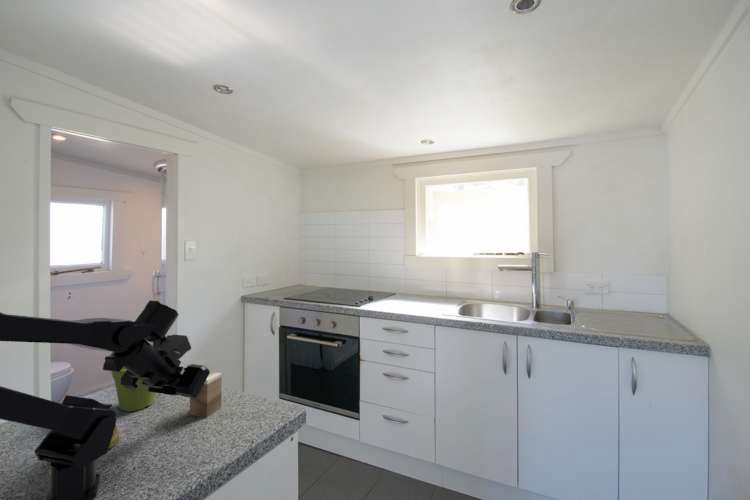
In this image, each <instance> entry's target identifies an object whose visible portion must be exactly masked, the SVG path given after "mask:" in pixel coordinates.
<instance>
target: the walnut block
mask: <svg viewBox="0 0 750 500" xmlns="http://www.w3.org/2000/svg"><path fill="white" fill-rule="evenodd" d="M222 381H223V380H222V372H217V371H216V372H215V371H210V373H209V375H208V377H207V379H206V381H205V383H204V384H203V386H202V388H201V390H200V392H199V394H198V396H196V397H195V398H190V397H189V415H191V416H197V417H202V418H209V417H210V416H212V415H213V414H215V413H216V412H218V411H219V410H221V409H222Z"/></svg>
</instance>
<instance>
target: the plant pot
mask: <svg viewBox="0 0 750 500" xmlns="http://www.w3.org/2000/svg"><path fill="white" fill-rule="evenodd" d="M126 370H127V369H125V368H124V367H123V368H122V369H121V371H120V372H114V371H110V372H111V376H112V379H113V382H114V385H115V391H116V395H117V400H118V404H119V405H118V406H119V409H120V410H121V411H124V412H134V411H140V410H143V409H145V408H146V407H150V406H151V405H153V404H154V402H155V397H156V393H154V392H149V391H148V389H149V387H147V386H144V385H142V382H143V381H142V380H141V379H140V378H139V379H138V380H137V382H136V383H135V384H136V385H138V387H137V388H136V389H130V388H126V387H124V386H123V385H121V377H122V376H123V375H124V373H125V372H126Z"/></svg>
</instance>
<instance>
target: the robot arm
mask: <svg viewBox="0 0 750 500" xmlns="http://www.w3.org/2000/svg"><path fill="white" fill-rule="evenodd" d="M178 317H179V313H178V311H177V310H176V309H174V308H172V307H170V306H168V305H166V304H163V303H161V302H160V301H158V300H152V299H151V300H149V301H147V303H146V305H145V307H144V309H143V310H142V311H141V312H140V314H138V316H137V317H136V318H135V319H136V320H135V321H132V320H130V319H121V318H110V317H109V318H107V317H93V318H82V319H76V320H73V319H72V320H66V319H56V318H49V317H48V318H47V317H37V316H27V315H17V314H15V315H14V314H6V313H3V312H1V311H0V342H10V343H11V342H12V343H13V342H15V343H37V344H38V343H39V344H40V343H42V344H67V345H68V344H69V345H72V346H74V347H79V348H84V349H88V350H95V351H103V352H110V353H111V354H110V355H107V356H105V357H104V363H103V365H102V370H103V371H106V372H111V371H114V372H120V371H121V369H122V368H123V367H124V368H125V369H127V370H126V372H125V373H124V375H123V376H122V377H121V385H123V386H124V387H126V388H130V389H136V388H137V387H138V385H136V384H135V383H136V382H137V380H138V379H139V378H140V379H141V380H142V381H143V382H142V385H144V386H147V387H149V389H148V391H149V392H154V393H155V394H164V395H168V396H181V397H184V398H189V399H190V398H195V397H196V396H198V394H199V392H200V390H201V388H202V386H203V384H204V383H205V381H206V379H207V377H208V375H209V373H210V372H211V371H210V369H209V368H208V367H207V366H206V365H203V364H202V365H201V364H194V363H193V364H188V365H187V366H186V367H184V366H182V365H181V363H182V361H181V360H180V359H181V358H182V357H183V356H185V354H186V353H188V352H189V351H190V350H192V346H191V345H192V344H191V343H190V341H189V338H188V336H187V335H183V334H182V335H181V334H171V335H170V334H167V333H168V332H169V331H170V329H171V327H172V326H173V325H174V324H175V322H176V320H177V319H178ZM166 335H167V336H166ZM151 343H152V344H151ZM180 365H181V366H180ZM112 407H113V404H110V403H104V402H100V401H98V400H95V399H93V398H88V397H83V396H77V395H68V394H66V395H65V396H64V398H63V399H62V403H59V402H56V401H53V400H50V399H47V398H43V397H40V396H36V395H33V394H29V393H26V392H25V393H24V392H22V391H18V390H14V389H13V388H12V389H11V388H9V387H8V388H7V387H4V386H1V385H0V420H2V421H7V422H10V423H16V424H19V425H20V424H21V425H26V426H29V427H35V428H37V429H39V430H41V431H42V432H43V433H44V434H45V435H46V436H45V437H44V438H43V439H42V441H41V442H40V444H39V445H38V446H37V447H36V449H35V450H34V454H35V456H36V458H37V460H38V461H40V462H48V463H49V479H50V480H49V492H48V495H47V498H46V499H45V500H94V499H95V498H96V497H97V495H98V490H99V485H100V481H101V474H100V473H97V471H96V469H97V463H96V462H97V460H98V459H99V458H102V457H103V456H104V455H106V454H108V451H109V449H108V448H109V445H110V442H111V439H112V436H113V432H114V429H115V425H116V426H117V412H116V411H115V410H113V409H111V408H112ZM96 473H97V474H96Z"/></svg>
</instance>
